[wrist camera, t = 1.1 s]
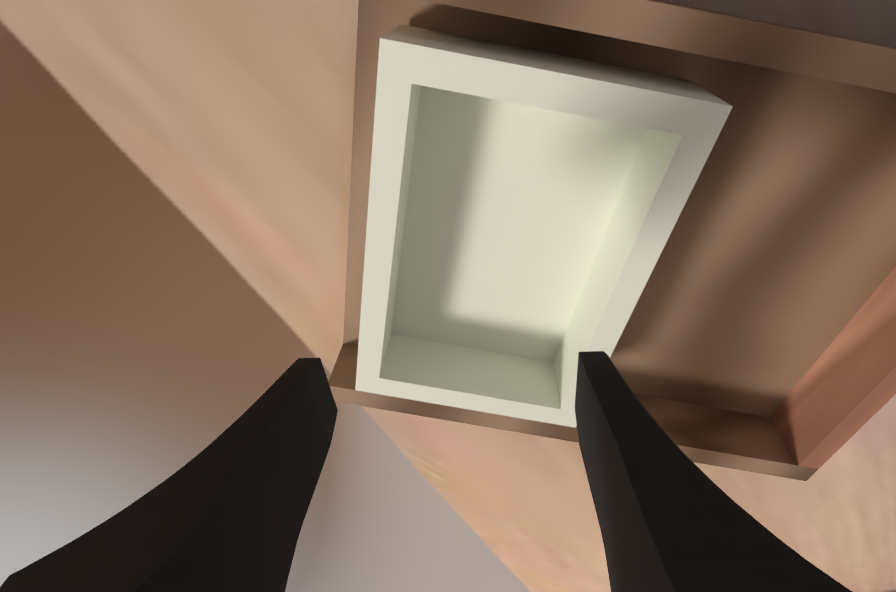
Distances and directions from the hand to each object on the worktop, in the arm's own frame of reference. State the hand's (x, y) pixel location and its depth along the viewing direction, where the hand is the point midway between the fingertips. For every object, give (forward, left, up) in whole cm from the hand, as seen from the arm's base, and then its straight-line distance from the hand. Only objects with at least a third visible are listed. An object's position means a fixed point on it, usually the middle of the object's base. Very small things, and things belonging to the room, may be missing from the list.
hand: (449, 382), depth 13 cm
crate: (-1, 0, -9) cm, 9 cm away
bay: (-7, 0, -10) cm, 13 cm away
